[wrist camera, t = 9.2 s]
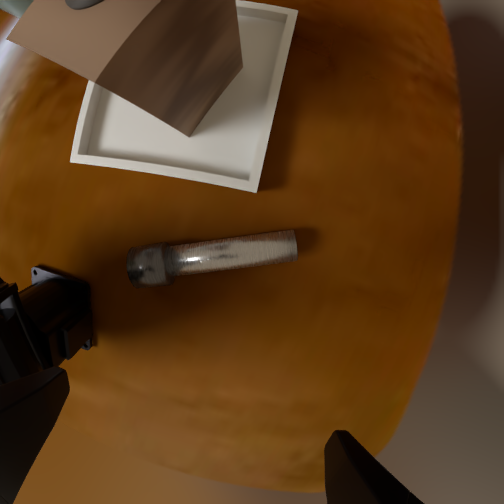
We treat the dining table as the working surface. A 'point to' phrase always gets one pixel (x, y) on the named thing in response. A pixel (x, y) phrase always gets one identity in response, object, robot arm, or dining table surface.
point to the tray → (211, 126)
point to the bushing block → (142, 50)
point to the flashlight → (207, 257)
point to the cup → (15, 6)
